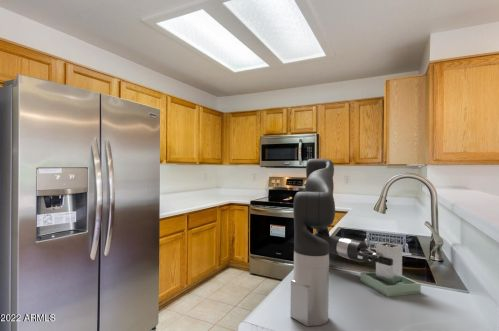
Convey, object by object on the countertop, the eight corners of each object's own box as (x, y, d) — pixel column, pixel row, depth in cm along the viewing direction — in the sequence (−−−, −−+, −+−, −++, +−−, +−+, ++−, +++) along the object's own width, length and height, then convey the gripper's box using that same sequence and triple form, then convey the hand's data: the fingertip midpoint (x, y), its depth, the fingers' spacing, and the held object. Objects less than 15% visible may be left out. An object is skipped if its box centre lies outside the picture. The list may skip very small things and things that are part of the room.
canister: (393, 285, 90) (393, 248, 90) (375, 279, 95) (376, 244, 95) (401, 281, 93) (402, 245, 94) (384, 275, 98) (384, 242, 99)
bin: (387, 296, 86) (387, 287, 86) (360, 281, 99) (360, 272, 99) (420, 293, 89) (420, 283, 89) (390, 278, 102) (390, 270, 102)
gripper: (340, 241, 102) (385, 253, 88) (362, 237, 110) (406, 246, 97) (340, 262, 101) (385, 276, 88) (362, 256, 110) (406, 268, 96)
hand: (396, 261), depth 92 cm, fingers closed on canister, 6 cm apart
